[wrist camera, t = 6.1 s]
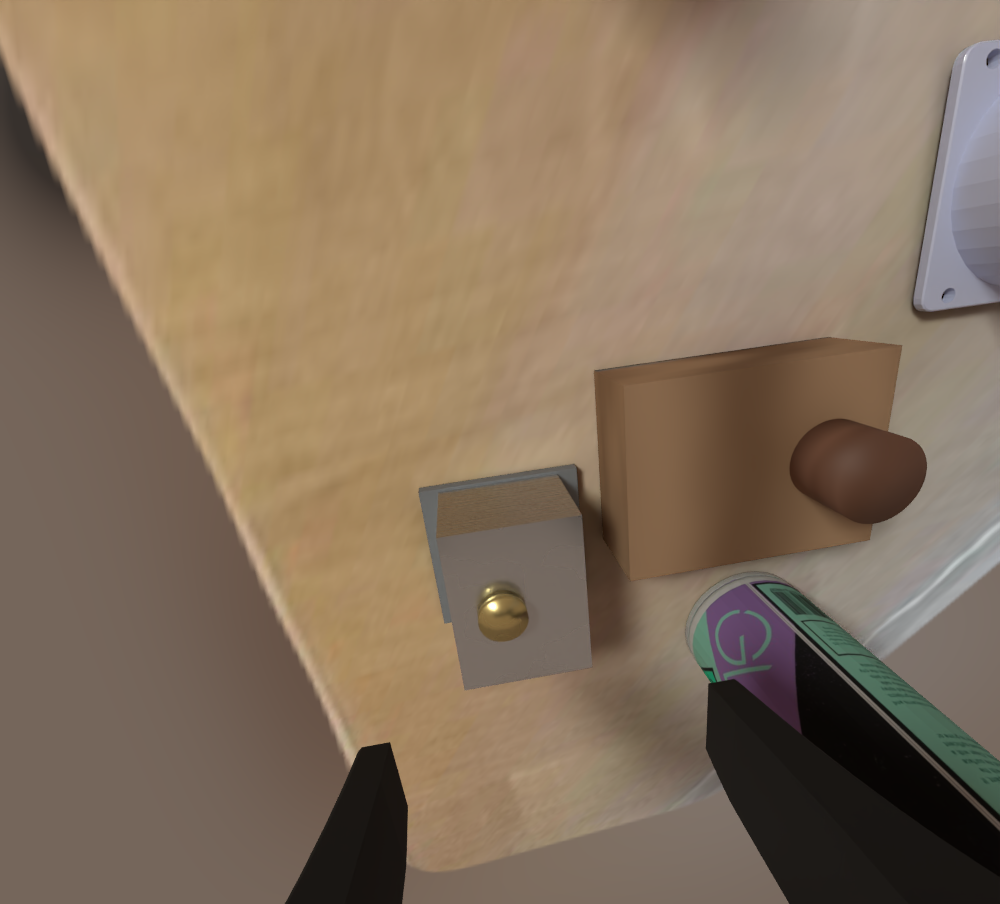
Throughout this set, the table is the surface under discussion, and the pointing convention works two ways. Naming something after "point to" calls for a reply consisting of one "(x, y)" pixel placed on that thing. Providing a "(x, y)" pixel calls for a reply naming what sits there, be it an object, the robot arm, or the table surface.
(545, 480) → the grey knob block
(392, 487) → the table surface
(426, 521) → the mat
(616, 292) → the table surface
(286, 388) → the table surface
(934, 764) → the spray can
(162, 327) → the table surface
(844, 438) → the body
